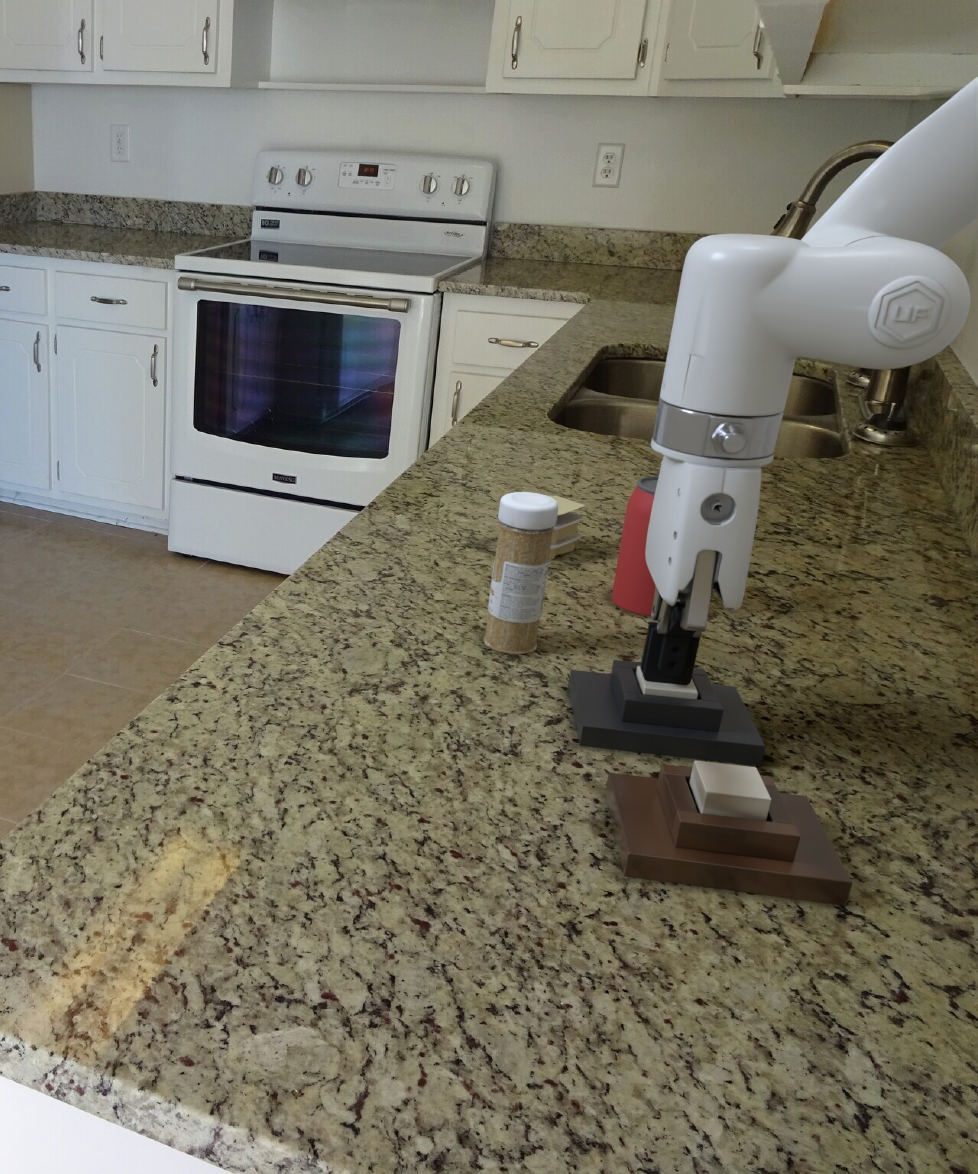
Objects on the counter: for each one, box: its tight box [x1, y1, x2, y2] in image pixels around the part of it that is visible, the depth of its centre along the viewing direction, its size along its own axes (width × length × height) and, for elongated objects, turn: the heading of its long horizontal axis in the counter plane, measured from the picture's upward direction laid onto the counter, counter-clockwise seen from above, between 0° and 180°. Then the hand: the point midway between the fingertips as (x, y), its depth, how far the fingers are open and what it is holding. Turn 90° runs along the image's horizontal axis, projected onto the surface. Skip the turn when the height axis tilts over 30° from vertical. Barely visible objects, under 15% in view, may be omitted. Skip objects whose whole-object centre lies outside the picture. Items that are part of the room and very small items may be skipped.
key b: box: [635, 666, 698, 699], centre depth 81 cm, size 4×4×2 cm
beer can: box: [611, 475, 659, 617], centre depth 101 cm, size 7×7×12 cm
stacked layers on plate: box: [548, 494, 586, 561], centre depth 115 cm, size 10×9×6 cm
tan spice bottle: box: [483, 491, 558, 655], centre depth 92 cm, size 5×5×13 cm
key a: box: [689, 759, 771, 821], centre depth 67 cm, size 4×4×2 cm
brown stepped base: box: [604, 763, 853, 907], centre depth 68 cm, size 12×9×4 cm
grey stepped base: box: [567, 659, 766, 767], centre depth 81 cm, size 12×9×4 cm
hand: (664, 677), depth 80 cm, fingers closed
